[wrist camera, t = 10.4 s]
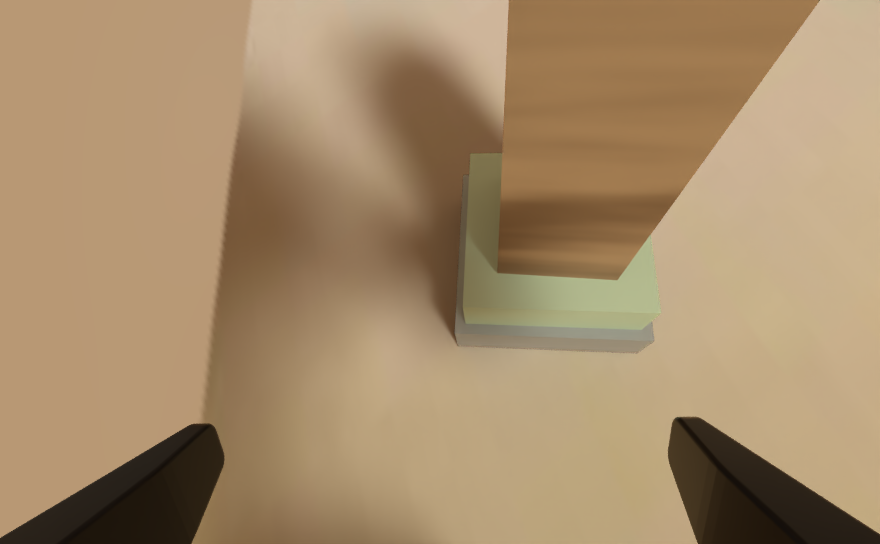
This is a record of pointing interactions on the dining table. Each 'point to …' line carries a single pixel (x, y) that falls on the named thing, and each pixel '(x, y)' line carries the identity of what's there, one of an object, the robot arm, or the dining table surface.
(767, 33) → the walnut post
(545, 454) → the dining table surface
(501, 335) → the tower base slab
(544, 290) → the tower top slab
